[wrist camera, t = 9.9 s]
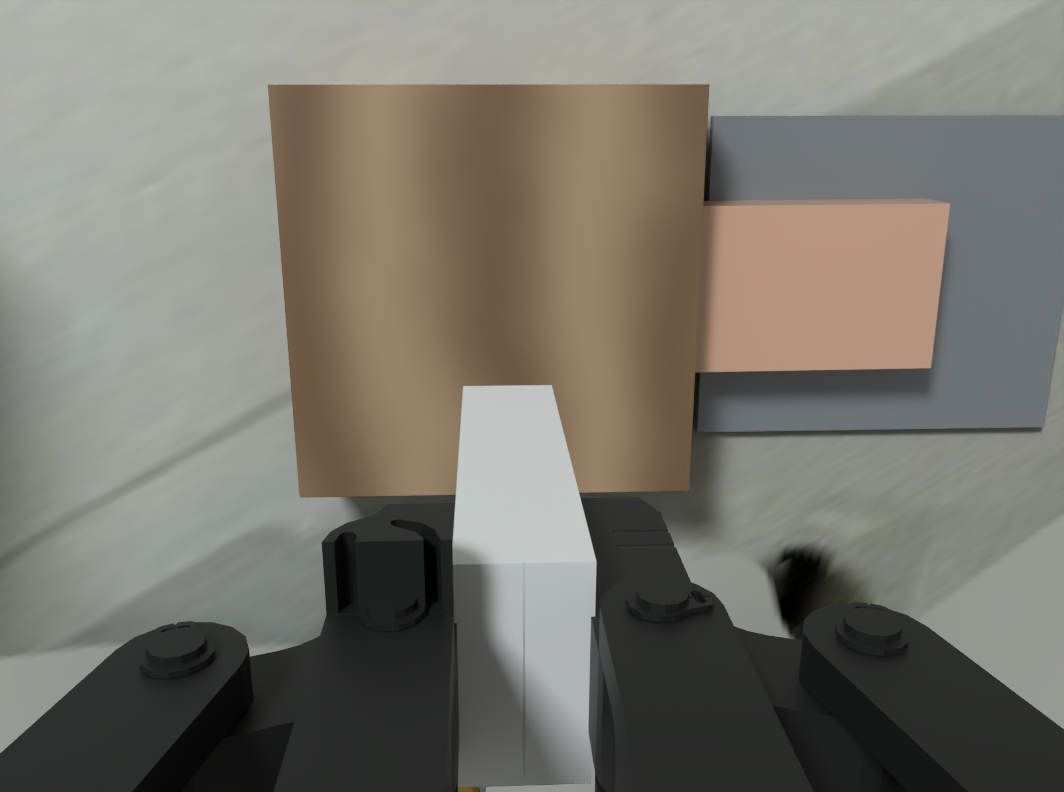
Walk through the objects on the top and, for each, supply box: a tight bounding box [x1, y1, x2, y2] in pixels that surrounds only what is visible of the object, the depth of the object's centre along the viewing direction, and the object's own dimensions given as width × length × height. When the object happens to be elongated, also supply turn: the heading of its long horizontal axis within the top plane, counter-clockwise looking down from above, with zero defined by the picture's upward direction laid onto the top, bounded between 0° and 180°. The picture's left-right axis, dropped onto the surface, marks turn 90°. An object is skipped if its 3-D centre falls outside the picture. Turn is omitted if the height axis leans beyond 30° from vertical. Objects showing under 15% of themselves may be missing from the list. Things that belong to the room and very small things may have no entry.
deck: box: [268, 85, 709, 497], centre depth 34 cm, size 14×14×4 cm
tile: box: [695, 199, 950, 372], centre depth 35 cm, size 9×6×2 cm, turn 90°
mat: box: [695, 116, 1064, 432], centre depth 36 cm, size 14×12×1 cm
